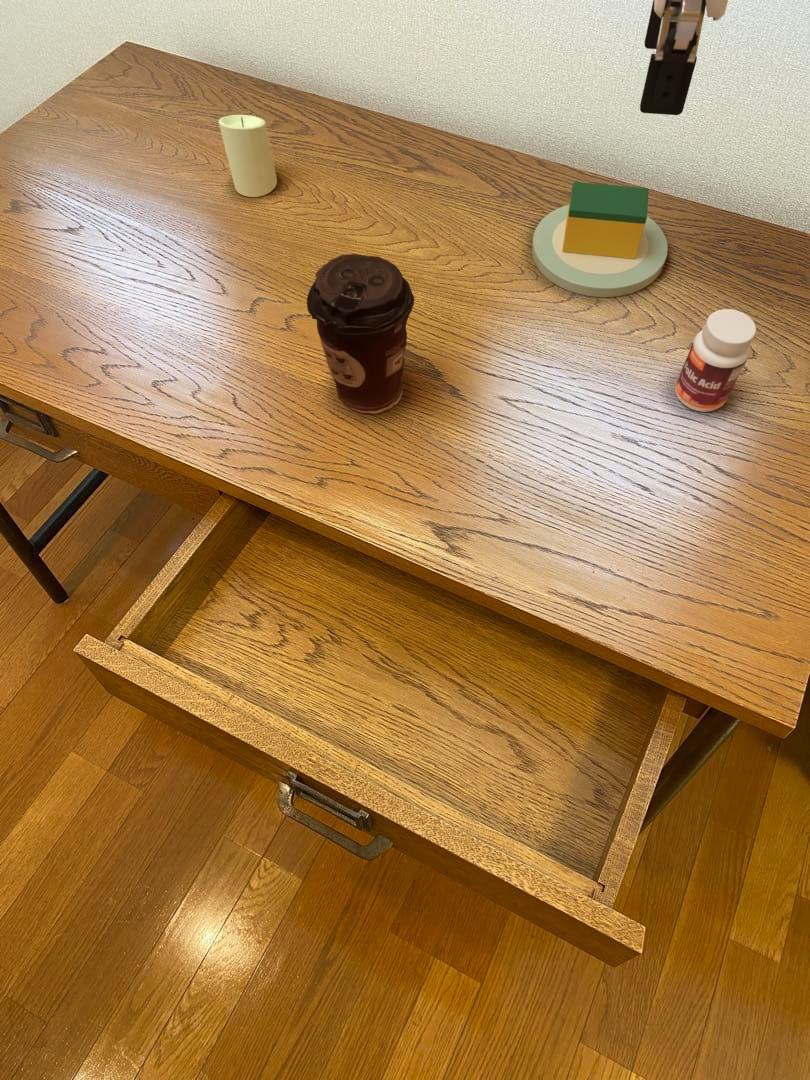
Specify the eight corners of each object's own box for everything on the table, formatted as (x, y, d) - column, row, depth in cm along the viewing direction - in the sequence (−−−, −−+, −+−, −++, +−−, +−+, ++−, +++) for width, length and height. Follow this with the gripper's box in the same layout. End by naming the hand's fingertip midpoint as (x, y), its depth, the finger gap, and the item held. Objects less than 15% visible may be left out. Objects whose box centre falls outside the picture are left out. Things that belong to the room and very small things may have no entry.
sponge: (637, 231, 79) (648, 188, 75) (635, 259, 77) (647, 217, 72) (565, 224, 80) (573, 181, 76) (562, 252, 78) (569, 209, 73)
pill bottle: (663, 395, 69) (690, 327, 62) (691, 366, 71) (721, 297, 63) (709, 422, 67) (742, 354, 60) (736, 391, 69) (772, 323, 62)
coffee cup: (350, 439, 68) (334, 332, 56) (307, 382, 71) (284, 271, 60) (431, 398, 70) (430, 287, 59) (385, 345, 73) (376, 231, 62)
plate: (666, 216, 82) (669, 206, 81) (663, 304, 75) (667, 294, 74) (538, 204, 84) (540, 194, 83) (524, 289, 77) (526, 279, 76)
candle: (247, 168, 89) (231, 98, 82) (284, 176, 88) (271, 106, 81) (227, 192, 87) (208, 123, 80) (265, 201, 86) (250, 131, 79)
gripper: (808, -164, 40) (711, 143, 55) (788, -259, 49) (709, 28, 64) (666, -166, 41) (607, 136, 56) (671, -259, 50) (619, 23, 65)
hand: (661, 78), depth 60 cm, fingers open, 9 cm apart
